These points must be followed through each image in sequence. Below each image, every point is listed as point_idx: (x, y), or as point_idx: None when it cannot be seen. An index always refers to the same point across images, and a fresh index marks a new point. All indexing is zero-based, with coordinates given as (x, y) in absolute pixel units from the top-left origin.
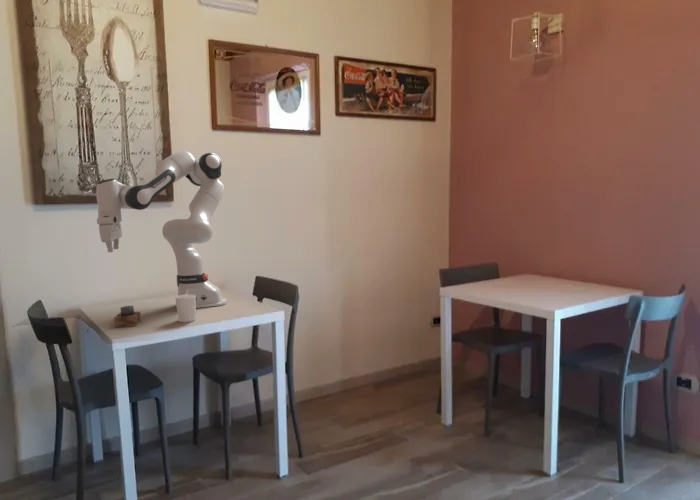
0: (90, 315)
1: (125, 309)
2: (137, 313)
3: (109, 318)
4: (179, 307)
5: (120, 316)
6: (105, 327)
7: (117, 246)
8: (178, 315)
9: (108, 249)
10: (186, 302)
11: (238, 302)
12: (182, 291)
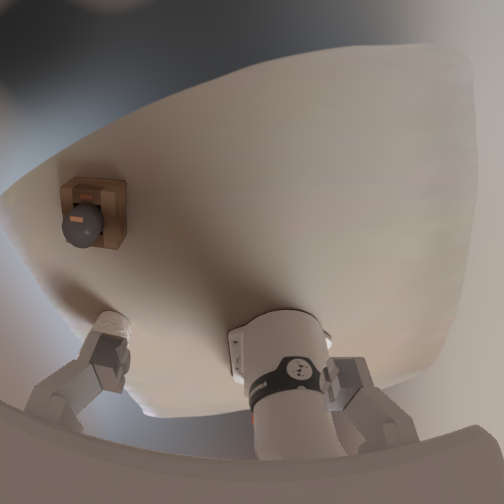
0: (278, 64)
1: (63, 227)
2: (94, 245)
3: (194, 136)
4: (86, 337)
5: (68, 203)
6: (80, 149)
7: (323, 398)
8: (98, 321)
9: (84, 354)
10: None
11: None
12: (256, 357)
